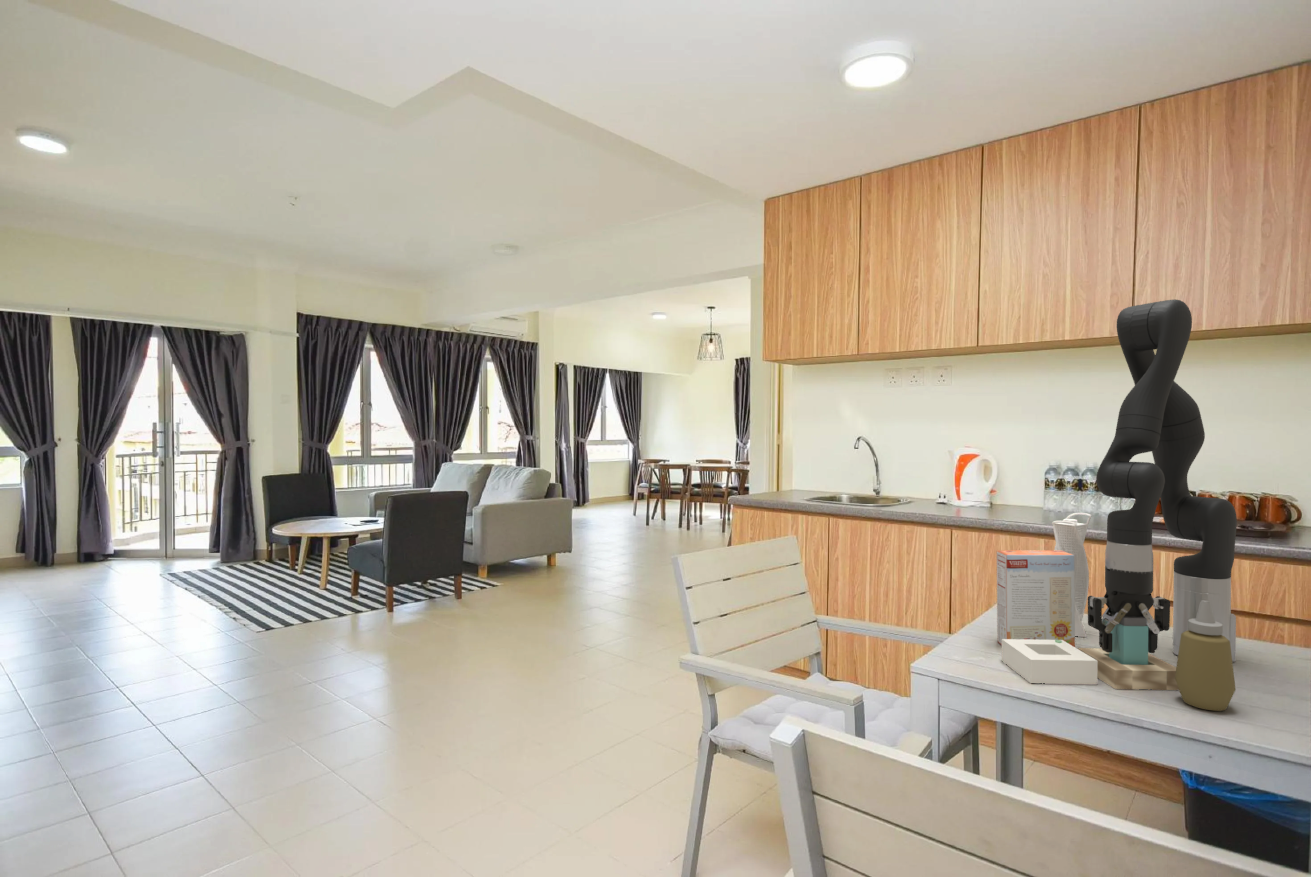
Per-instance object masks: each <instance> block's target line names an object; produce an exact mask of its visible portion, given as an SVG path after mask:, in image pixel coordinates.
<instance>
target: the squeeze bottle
mask: <svg viewBox="0 0 1311 877" xmlns="http://www.w3.org/2000/svg"><path fill="white" fill-rule="evenodd" d="M1188 629H1189V630H1187V631H1185V632H1183V633H1182V634H1181V638H1180V646H1179V653H1178V656H1177V661H1176V666H1175V667H1176V674H1175V680H1176V682H1177V685H1178V688H1179V690H1178V691H1179V693H1180V695H1181V699H1182V701H1183V702H1184V703H1185V704H1187V705H1189V706H1191V707H1192V706H1193V707H1194V708H1199V709H1202V710H1206V711H1207V710H1209V711H1214V712H1217V711H1218V712H1221V711H1226V710H1227V708H1228V707H1229V704H1230V702H1231V701H1232V699H1233V696H1234V695H1235V692H1236V690H1237V689H1236V682H1235V681H1236V680H1235V675H1234V674H1235V672H1234V665H1233V662H1232V655H1231V646H1230V641H1229V640H1228V639H1227V638H1226V637H1225V636H1222V634H1223V625H1222V624H1221V623H1219V622H1216V621H1215V620H1214V616H1213V612H1212V608H1211V604H1210V601H1205V600H1201V603H1200V606H1199V609H1198V613H1197V616H1196V619H1189V620H1188Z"/></svg>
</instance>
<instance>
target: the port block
mask: <svg viewBox="0 0 1311 877" xmlns="http://www.w3.org/2000/svg"><path fill="white" fill-rule="evenodd" d="M1002 661H1003V662H1002ZM1001 662H1002V663H1004V664H1005V665H1006V664H1007V665H1006V666H1008V667H1009V668H1010V669H1012V671H1014V672H1015V671H1016V672H1015V673H1016V674H1018V675H1019V676H1020V675H1021V677H1022V678H1023V679H1024V678H1025V681H1026V682H1028V683H1029V684H1031V683H1042V684H1041V685H1090V686H1091V685H1098V678H1097V665H1098V661H1097V660H1095V659H1094V658H1092V657H1090V656H1089V655H1087V654H1085V653H1084V652H1082V651H1080V650H1079V649H1078V648H1077V647H1076V646H1075V647H1073V646H1072V645H1070V644H1068V643H1067V642H1065V641H1063V640H1034V639H1002V645H1001ZM1043 683H1045V684H1043Z"/></svg>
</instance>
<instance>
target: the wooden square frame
mask: <svg viewBox="0 0 1311 877" xmlns="http://www.w3.org/2000/svg"><path fill="white" fill-rule="evenodd" d="M1077 649H1079V650H1080V651H1082V652H1084V653H1085V654H1087V655H1089V656H1090V657H1092V658H1094V659H1095V660H1097V661H1098V665H1097V680H1100V681H1102V682H1103V683H1105V684H1107V685H1108V686H1110V687H1111V688H1113V689H1115V690H1139V689H1148V691H1149V690H1150V689H1152V690H1153V691H1158V690H1159V691H1179V688H1178V685H1177V682H1176V680H1175V674H1176V667H1177V666H1174V665H1172V664H1171V663H1169V662H1166V661H1164V660H1163V659H1161V658H1159V657H1157V656H1155V655H1153V654H1152V653H1149V652H1148V665H1122V664H1120V663H1118V662H1117V661H1115V660H1113V659H1111V658H1110V657H1109V652H1106V651H1104V650H1102V648H1101V647H1099V648H1098V647H1097V648H1094V647H1093V648H1091V647H1090V648H1089V647H1078V648H1077ZM1152 690H1151V691H1152Z"/></svg>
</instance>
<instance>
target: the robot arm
mask: <svg viewBox="0 0 1311 877" xmlns="http://www.w3.org/2000/svg"><path fill="white" fill-rule="evenodd" d="M1192 325H1193V318H1192V312H1191V310H1190V308H1189V306H1188V304H1186V302H1184V301H1182V300H1180V299H1175V298H1174V299H1167V300H1160V301H1155V302H1147V303H1143V304H1137V305H1132V306H1128V307H1125V308H1123V309H1121V311H1120V312H1119V314H1118V316H1117V319H1116V332H1117V333H1116V334H1117V338H1118V341H1119V345H1120V347H1121V350H1122V354H1123V357H1124V359H1125V361H1126V364H1127V367H1128V369H1129V371H1130V375H1131V378H1132V380H1133V383H1134V386H1133V387H1132V388H1131V389H1130V390H1129V392H1128V393H1127V395H1126V396H1125V398H1124V400H1123V401H1122V403H1121V405H1120V408H1119V412H1118V415H1117V416H1118V417H1117V422H1116V427H1115V434H1114V438H1113V440H1112V441H1111V443H1110V447H1109V448H1108V450H1107V452H1106V454H1105V456H1104V458H1103V459H1102V461H1101V462H1100V464H1099V466H1098V469H1097V471H1096V477H1095V478H1096V479H1095V480H1096V481H1095V482H1096V486H1097V488H1098V490H1099V491H1100V493H1102V495H1104V496H1106V497H1109V498H1110V497H1111V498H1117V499H1118V498H1121V499H1132V500H1134V503H1133V505H1132V507H1131V508H1130V509H1119V510H1112V511H1111V512H1109V513H1108V515H1107V520H1106V546H1105V553H1104V555H1105V557H1104V558H1105V559H1104V566H1105V567H1104V587H1105V594H1104V596H1093V595H1088V596H1087V625H1088V627H1091V628H1094V629H1096V631H1098V645H1099V648H1102V650H1104V651H1106V652H1112V633H1111V631H1112V630H1113V628H1114V627H1115V625H1117V624H1119V623H1120V621H1121V620H1122V619H1123V617H1144V618H1147V626H1148V653H1149V654H1155V653H1156V651H1157V650H1158V647H1159V646H1158V644H1159V643H1158V641H1159V640H1158V635H1159V633H1160V632H1163V631H1165V632H1166V631H1169V630H1170V621H1171V601H1170V599H1167V598H1164V597H1162V596H1155V597H1153V596H1152V593H1153V592H1154V552H1153V523H1154V522H1153V521H1154V518H1155V513H1156V510H1157V509H1158V508H1157V507H1158V505H1159V501H1160V503H1161V504H1160V505H1161V512H1162V518H1163V522H1164V524H1165V528H1166V529H1167V531H1168V533H1169V534H1170V535H1171V536H1173V537H1174V538H1177V539H1181V540H1187V541H1188V540H1189V541H1196V542H1202V546H1201V550H1200V551H1199V552H1198V553H1194V554H1191V555H1183V556H1178V557H1176V558H1174V560H1173V603H1172V604H1173V608H1172V609H1173V612H1172V613H1173V614H1172V619H1173V620H1172V652H1173V654H1174V655H1176V656H1177V657H1178V653H1179V646H1180V638H1181V634H1182V633H1183V632H1185V631H1187V630H1189V629H1188V620H1189V619H1196V616H1197V613H1198V609H1199V606H1200V603H1201V600H1205V601H1210V604H1211V608H1212V612H1213V616H1214V620H1215V621H1216V622H1219V623H1221V624H1222V625H1223V634H1222V636H1225V637H1226V638H1227V639H1228V640H1229V641H1230V646H1231V655H1232V663H1233V662H1234V663H1235V662H1236V659H1237V658H1236V657H1237V656H1236V651H1237V648H1236V647H1237V646H1236V645H1237V644H1236V643H1237V640H1236V639H1237V638H1236V637H1237V633H1236V632H1237V616H1236V615H1235V614H1234V613H1231V611H1232V609H1231V607H1232V604H1231V603H1232V569H1233V564H1234V561H1235V550H1236V548H1235V547H1236V537H1237V536H1236V535H1237V526H1238V525H1237V524H1238V520H1237V512H1236V509H1235V507H1234V505H1233V504H1232V503H1231V502H1230V501H1229V500H1227V499H1223V498H1218V497H1207V496H1195V495H1194V496H1193V495H1191V493H1190V490H1189V484H1188V473H1189V470H1190V468H1191V466H1192V464H1193V463H1194V461H1195V459H1196V458H1197V457H1198V454H1199V453H1200V451H1201V449H1202V447H1203V444H1204V442H1205V436H1206V433H1205V427H1204V423H1203V418H1202V415H1201V411H1200V408H1199V406H1198V403H1197V402H1196V401H1195V399H1194V398H1193V397H1192V396H1191V395H1190V394H1189V393H1188V392H1187V391H1186V390H1185V389H1184V388H1182V386H1181V385H1179V384H1178V383H1177V382H1176V381H1175V378H1176V376H1177V374H1178V371H1179V368H1180V365H1181V363H1182V360H1183V356H1184V355H1185V352H1186V349H1187V346H1188V344H1189V340H1190V337H1191V333H1192V327H1193V326H1192ZM1154 350H1155V351H1154ZM1150 452H1151V454H1152V458H1153V461H1154V463H1152V462H1146V461H1145V462H1144V461H1131V460H1132V458H1134V457H1135V456H1137V455H1140V454H1145V453H1150ZM1104 605H1106V607H1107V608H1106V609H1105V611H1104V612H1103V611H1102V609H1104V608H1105V606H1104ZM1152 607H1153V609H1154V613H1153V614H1154V617H1153V616H1152V614H1151V612H1150V609H1151V608H1152ZM1102 612H1103V613H1102ZM1112 615H1114V616H1113V617H1112Z"/></svg>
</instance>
